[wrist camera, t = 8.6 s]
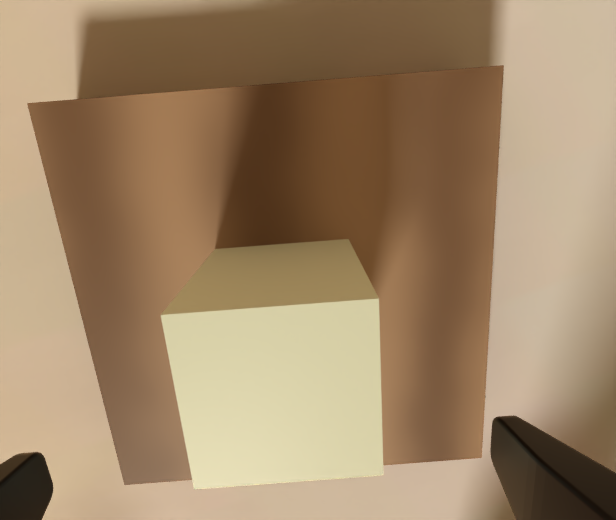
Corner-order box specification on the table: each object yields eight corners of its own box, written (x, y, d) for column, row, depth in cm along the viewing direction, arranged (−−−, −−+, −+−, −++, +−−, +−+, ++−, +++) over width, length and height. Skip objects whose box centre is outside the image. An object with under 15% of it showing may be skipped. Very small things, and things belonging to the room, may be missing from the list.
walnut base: (467, 79, 16) (503, 65, 13) (456, 414, 21) (481, 457, 18) (75, 110, 16) (27, 103, 13) (149, 437, 21) (124, 484, 18)
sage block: (348, 238, 15) (379, 298, 9) (354, 357, 16) (383, 475, 10) (215, 249, 15) (160, 315, 9) (231, 367, 16) (194, 489, 10)
